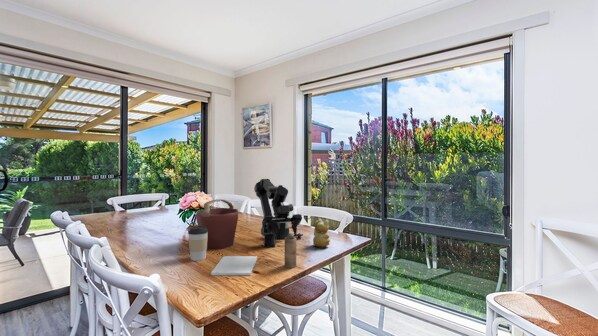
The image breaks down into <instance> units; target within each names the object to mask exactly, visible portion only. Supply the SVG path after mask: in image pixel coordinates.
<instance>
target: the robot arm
mask: <svg viewBox="0 0 598 336" xmlns="http://www.w3.org/2000/svg"><path fill="white" fill-rule="evenodd" d="M253 189H254V190H253V191H254V192H255V195H256V197H257V198H258V199H259V200H260V204H261V210H262V214H263V218H262V221H261V228H260V234H261V236H262V237H264V238H263V245H262V247H263V248H275V247H276V245H277V244H276V241H275V240H276V239H277V237H278V236H277V235H278V232H279V225H278V223H284V222H289V223H290V224H291V228H292V231H293V235H295V236H296V234H298V233H297V232H298V226H299V225H300V224H301V222H302V220H303V217H302V214H301V213H296V214H295V213H294V214H292V217H290V214H289V213H291V212H293V211H294V205H293V204H292V203H290V204H284V202H286V200H287V197H288V194H289V190H288V188H287V187H284V186H283V185H281V184H278V185H277V186H275V185H274V184H273V183H272V181H271V180H270V179H269V178H261V179H260V180H259V181H258V182H256V183H255V185H254V188H253ZM270 200H271V201H270ZM270 202H271V205H270ZM271 207H272V209H271ZM272 211H273V212H272ZM287 216H289V218H288V217H287ZM275 237H276V238H275Z"/></svg>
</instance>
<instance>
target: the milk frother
mask: <svg viewBox="0 0 598 336" xmlns="http://www.w3.org/2000/svg"><path fill="white" fill-rule="evenodd" d="M290 213H291V212H289V216H287V217H288V218H290V215H291V214H290ZM278 225H279V232H278V235H277V236H278V237H277V238H276V237H275V239H276V240H285V237H287V235H288V234H290V222H284V223H278ZM293 235H294V234H293ZM303 236H304V233H300V232H299V233H297V234H296V236H295V235H294V237H296V238H299V239H300V238H301V237H303Z"/></svg>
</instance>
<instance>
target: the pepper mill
mask: <svg viewBox="0 0 598 336" xmlns="http://www.w3.org/2000/svg"><path fill="white" fill-rule="evenodd" d="M296 267H297V237H294V233H289V234H288V235H287V237H285V239H284V268H286V269H294V268H296Z"/></svg>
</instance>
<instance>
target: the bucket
mask: <svg viewBox="0 0 598 336" xmlns="http://www.w3.org/2000/svg"><path fill="white" fill-rule="evenodd" d="M219 201H221V202H223V203H225V204H226V205H227V206H228V207H219V208H218V207H216V208H211V207H210V205H212V204H214V203H215V202H219ZM195 218H196V223H197V226H204V227H206V228H207V229H208V234H207V236H208V239H207V249H206V250H223V249H227V248H230V247H233V246H234V242H235V237H236V236H235V235H236V233H237V232H236V231H237V227H238V226H237V225H238V220H239V210H238V208H235V207H234V205H233V203H232V202H230V201H228V200H226V199H223V198H222V199H221V198H219V199H217V198H216V199H211V200H209V201H206V202H205V203H203V209H202V210H198V211H196V212H195Z"/></svg>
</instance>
